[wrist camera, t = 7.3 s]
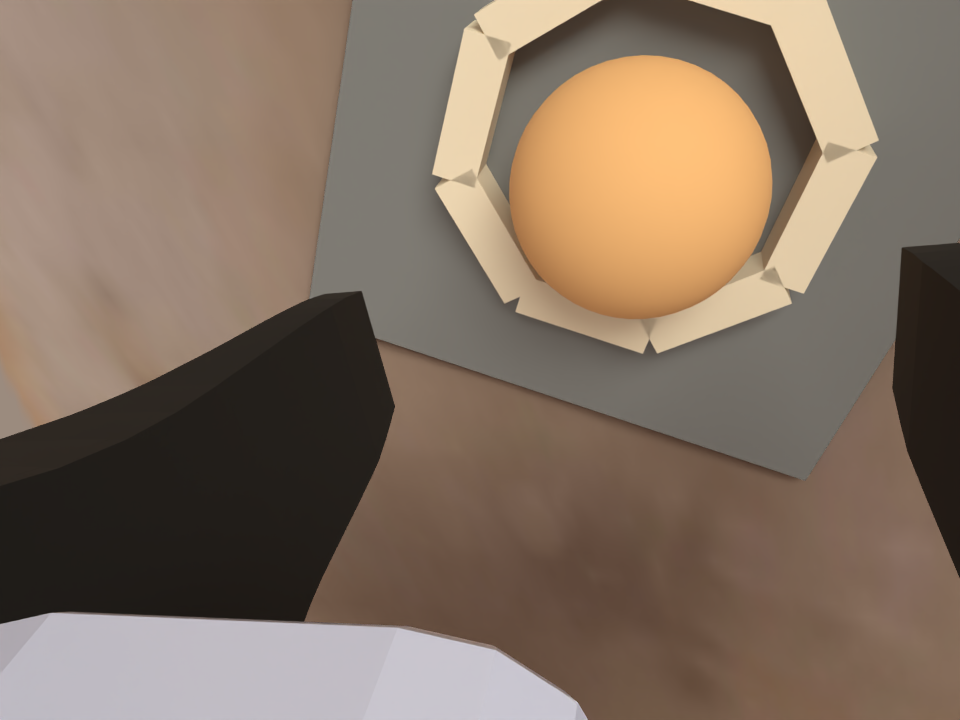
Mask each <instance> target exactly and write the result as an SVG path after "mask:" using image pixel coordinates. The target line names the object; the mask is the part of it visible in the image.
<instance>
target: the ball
mask: <svg viewBox="0 0 960 720" xmlns="http://www.w3.org/2000/svg"><path fill="white" fill-rule="evenodd" d="M771 199H772V170H771V159H770V155H769V151H768V147H767V143H766V140H765V138H764V135H763V133H762V130H761V128H760V126H759V124H758V122H757V120H756V119H755V117H754V115H753V114H752V112H751V110H750V109H749V107H748V106H747V105H746V103H745V102H744V101H743V100H742V98H741V97H740V96H739V95H738V94H737V93H736V92H735V91H734V90H733V89H732V88H731V87H730V86H729V85H727V84H726V83H725V82H724V81H722V80H721V79H719V78H718V77H716V76H715V75H714V74H712V73H710V72H708V71H706V70H704V69H702V68H700V67H698V66H696V65H694V64H691V63H688V62H685V61H682V60H679V59H674V58H669V57H663V56H650V55H640V56H628V57H622V58H618V59H613V60H609V61H605V62H603V63H600V64H597V65H594V66H592V67H590V68H588V69H586V70H584V71H582V72H580V73H578V74H576V75H574V76H573V77H572V78H570V79H569V80H567V81H566V82H565V83H563V84H562V85H560V86H559V87H558V88H557V89H556V90H555V91H554V92H553V93H552V94H551V95H550V96H549V97H548V98H547V99H546V100H545V101H544V102H543V104H542V105H541V106H540V107H539V108H538V110H537V111H536V112H535V113H534V115H533V116H532V118H531V119H530V121H529V123H528V124H527V126H526V127H525V130H524V132H523V134H522V136H521V138H520V141H519V143H518V146H517V149H516V152H515V156H514V159H513V162H512V167H511V174H510V182H509V201H510V210H511V217H512V221H513V225H514V229H515V233H516V235H517V238H518V240H519V243H520V245H521V247H522V249H523V251H524V253H525V255H526V257H527V258H528V260H529V262H530V264H531V265H532V266H533V268H534V269H535V270H536V272H537V273H538V274H539V275H540V276H541V277H542V279H543V280H544V281H545V282H546V283H547V284H548V285H549V286H550V287H552V288H553V289H554V290H555V291H557V292H558V293H559V294H560V295H562V296H563V297H565V298H566V299H568V300H570V301H571V302H573V303H574V304H576V305H578V306H580V307H583V308H585V309H587V310H589V311H592V312H595V313H598V314H601V315H605V316H610V317H615V318H624V319H648V318H656V317H662V316H666V315H670V314H674V313H677V312H679V311H682V310H685V309H687V308H690V307H692V306H694V305H696V304H698V303H700V302H702V301H704V300H706V299H707V298H709V297H710V296H712V295H713V294H715V293H716V292H718V291H719V290H720V289H721V288H722V287H723V286H725V285H726V284H727V283H728V282H729V281H730V280H731V279H732V278H733V277H734V276H735V275H736V274H737V272H738V271H739V270H740V269H741V268H742V267H743V266H744V264H745V263H746V261H747V260H748V259H749V257H750V256H751V254H752V253H753V251H754V249H755V247H756V245H757V243H758V241H759V239H760V238H761V235H762V232H763V229H764V226H765V223H766V221H767V218H768V214H769V209H770V204H771Z"/></svg>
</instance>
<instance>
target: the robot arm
mask: <svg viewBox="0 0 960 720" xmlns="http://www.w3.org/2000/svg"><path fill="white" fill-rule="evenodd" d="M893 392H894V397H895V401H896V406H897V410H898V415H899V419H900V423H901V427H902V431H903V435H904V439H905V443H906V447H907V451H908V454H909V456H910V459H911V461H912V464H913V467H914V469H915V471H916V474H917V476H918V479H919V481H920V484H921V486H922V489H923V491H924V494H925V496H926V498H927V501H928V503H929V506H930V508H931V510H932V513H933V515H934V518H935V520H936V522H937V525H938V527H939V530H940V532H941V534H942V537H943V539H944V542H945V544H946V546H947V549H948V551H949V554H950V556H951V558H952V561H953V563H954V566H955V568H956V570H957V573H958V575H959V577H960V243H949V244H937V245H924V246H912V247H902V250H901V266H900V281H899V296H898V311H897V327H896V342H895V357H894V373H893ZM394 408H395V405H394V402H393V398H392V395H391V391H390V388H389V384H388V381H387V377H386V374H385V370H384V367H383V363H382V360H381V356H380V353H379V349H378V346H377V342H376V339H375V335H374V332H373V328H372V325H371V321H370V318H369V314H368V311H367V307H366V304H365V300H364V297H363V293H362V291H354V292H341V293H329V294H322V295H319V296H316V297H313V298H311V299H308V300H306V301H304V302H301V303H299V304H297V305H295V306H293V307H291V308H289V309H287V310H285V311H283V312H281V313H279V314H277V315H275V316H273V317H272V318H270V319H268V320H266V321H264V322H262V323H260V324H259V325H257V326H255V327H253V328H251V329H249V330H248V331H246V332H244V333H242V334H240V335H238V336H237V337H235V338H233V339H231V340H229V341H227V342H226V343H224V344H222V345H220V346H218V347H216V348H215V349H213V350H211V351H209V352H207V353H205V354H203V355H201V356H199V357H197V358H195V359H193V360H191V361H189V362H187V363H185V364H183V365H182V366H180V367H178V368H176V369H174V370H172V371H170V372H168V373H166V374H164V375H162V376H160V377H158V378H156V379H154V380H152V381H150V382H148V383H146V384H143V385H141V386H139V387H137V388H135V389H132V390H130V391H128V392H126V393H124V394H121V395H119V396H117V397H114V398H112V399H109V400H107V401H105V402H102V403H100V404H97V405H95V406H92V407H90V408H88V409H85V410H83V411H80V412H77V413H75V414H72V415H70V416H67V417H64V418H61V419H58V420H55V421H52V422H49V423H46V424H43V425H40V426H38V427H35V428H32V429H29V430H26V431H23V432H20V433H17V434H14V435H11V436H9V437H6V438H3V439H0V720H588V719H587V717H586V716H585V714H584V712H583V711H582V709H581V707H580V706H579V704H578V702H577V701H575V700H574V699H573V698H572V697H571V696H570V695H569V694H567V693H566V692H565V691H564V690H562V689H561V688H559V687H558V686H556V685H554V684H553V683H551V682H550V681H548V680H547V679H545V678H543V677H542V676H540V675H539V674H537V673H536V672H534V671H533V670H531V669H529V668H528V667H526V666H525V665H523V664H522V663H520V662H519V661H517V660H515V659H514V658H512V657H511V656H509V655H508V654H506V653H505V652H503V651H501V650H500V649H498V648H497V647H495V646H493V645H489V644H485V643H480V642H476V641H471V640H467V639H463V638H458V637H454V636H449V635H445V634H441V633H436V632H432V631H427V630H423V629H419V628H414V627H410V626H395V625H372V624H348V623H324V622H304V620H305V618H306V615H307V612H308V609H309V607H310V604H311V602H312V599H313V597H314V595H315V593H316V590H317V588H318V586H319V583H320V581H321V579H322V577H323V575H324V573H325V571H326V569H327V567H328V564H329V562H330V560H331V558H332V556H333V554H334V552H335V550H336V548H337V546H338V544H339V542H340V540H341V538H342V536H343V534H344V532H345V530H346V528H347V526H348V524H349V522H350V520H351V518H352V516H353V514H354V512H355V510H356V508H357V506H358V504H359V502H360V500H361V498H362V495H363V493H364V491H365V489H366V487H367V485H368V483H369V481H370V479H371V477H372V475H373V472H374V470H375V468H376V466H377V464H378V461H379V459H380V455H381V452H382V449H383V446H384V443H385V440H386V437H387V433H388V430H389V426H390V423H391V419H392V415H393V412H394Z"/></svg>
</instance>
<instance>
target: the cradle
mask: <svg viewBox="0 0 960 720" xmlns="http://www.w3.org/2000/svg"><path fill="white" fill-rule="evenodd" d="M640 55H650V56H663V57H669V58H674V59H679V60H682V61H685V62H688V63H691V64H694V65H696V66H698V67H700V68H702V69H704V70H706V71H708V72H710V73H712V74H714V75H715V76H716V77H718V78H719V79H721V80H722V81H724V82H725V83H726V84H727V85H729V86H730V87H731V88H732V89H733V90H734V91H735V92H736V93H737V94H738V95H739V96H740V97H741V98H742V100H743V101H744V102H745V103H746V105H747V106H748V107H749V109H750V110H751V112H752V114H753V115H754V117H755V119H756V120H757V122H758V124H759V126H760V128H761V130H762V133H763V135H764V138H765V140H766V143H767V147H768V151H769V155H770V159H771V170H772V199H771V204H770V209H769V214H768V218H767V221H766V223H765V226H764V229H763V232H762V235H761V238H760V239H759V241H758V243H757V245H756V247H755V249H754V251H753V253H752V254H751V256H750V257H749V259H748V260H747V261H746V263H745V264H744V266H743V267H742V268H741V269H740V270H739V271H738V272H737V274H736V275H735V276H734V277H733V278H732V279H731V280H730V281H729V282H728V283H727V284H726V285H725V286H723V287H722V288H721V289H720V290H719V291H718V292H716V293H715V294H713V295H712V296H710V297H709V298H707V299H706V300H704V301H702V302H700V303H698V304H696V305H694V306H692V307H690V308H687V309H685V310H682V311H679V312H677V313H674V314H670V315H666V316H662V317H656V318H648V319H624V318H615V317H610V316H605V315H601V314H598V313H595V312H592V311H589V310H587V309H585V308H583V307H580V306H578V305H576V304H574V303H573V302H571V301H570V300H568V299H566V298H565V297H563V296H562V295H560V294H559V293H558V292H557V291H555V290H554V289H553V288H552V287H550V286H549V285H548V284H547V283H546V282H545V281H544V280H543V279H542V277H541V276H540V275H539V274H538V273H537V272H536V270H535V269H534V268H533V266H532V265H531V264H530V262H529V260H528V258H527V257H526V255H525V253H524V251H523V249H522V247H521V245H520V243H519V240H518V238H517V235H516V233H515V229H514V225H513V221H512V217H511V210H510V201H509V182H510V174H511V167H512V162H513V159H514V156H515V152H516V149H517V146H518V143H519V141H520V138H521V136H522V134H523V132H524V130H525V127H526V126H527V124H528V123H529V121H530V119H531V118H532V116H533V115H534V113H535V112H536V111H537V110H538V108H539V107H540V106H541V105H542V104H543V102H544V101H545V100H546V99H547V98H548V97H549V96H550V95H551V94H552V93H553V92H554V91H555V90H556V89H557V88H558V87H559V86H560V85H562V84H563V83H565V82H566V81H567V80H569V79H570V78H572V77H573V76H574V75H576V74H578V73H580V72H582V71H584V70H586V69H588V68H590V67H592V66H594V65H597V64H600V63H603V62H605V61H609V60H613V59H618V58H622V57H628V56H640ZM959 239H960V0H353V2H352V9H351V16H350V23H349V30H348V36H347V43H346V50H345V57H344V64H343V71H342V78H341V85H340V91H339V98H338V105H337V112H336V119H335V126H334V133H333V140H332V147H331V153H330V160H329V167H328V174H327V181H326V188H325V195H324V202H323V209H322V215H321V222H320V229H319V236H318V243H317V250H316V257H315V264H314V270H313V277H312V284H311V291H310V298H309V299H311V298H313V297H316V296H319V295H322V294H329V293H341V292H354V291H362V293H363V297H364V300H365V304H366V307H367V311H368V314H369V318H370V321H371V325H372V328H373V332H374V335H375V338H377V339H380V340H383V341H386V342H389V343H392V344H395V345H398V346H401V347H404V348H407V349H410V350H413V351H416V352H419V353H422V354H425V355H428V356H431V357H434V358H437V359H440V360H443V361H446V362H449V363H452V364H455V365H458V366H461V367H464V368H467V369H470V370H473V371H476V372H479V373H482V374H485V375H488V376H491V377H494V378H497V379H500V380H503V381H506V382H510V383H513V384H516V385H519V386H522V387H525V388H528V389H531V390H534V391H537V392H540V393H543V394H546V395H549V396H552V397H555V398H558V399H561V400H564V401H567V402H570V403H573V404H576V405H579V406H582V407H585V408H588V409H591V410H594V411H597V412H600V413H603V414H606V415H609V416H612V417H615V418H618V419H621V420H624V421H627V422H630V423H633V424H636V425H639V426H642V427H645V428H648V429H651V430H654V431H657V432H660V433H663V434H666V435H669V436H672V437H675V438H678V439H681V440H684V441H687V442H690V443H693V444H696V445H699V446H702V447H705V448H708V449H711V450H714V451H717V452H720V453H723V454H726V455H729V456H732V457H735V458H738V459H741V460H744V461H747V462H750V463H753V464H756V465H759V466H762V467H765V468H768V469H771V470H774V471H777V472H780V473H783V474H786V475H789V476H792V477H795V478H799V479H802V480H805V481H806V479H807V478H808V476H809V475H810V473H811V471H812V470H813V468H814V467H815V465H816V464H817V462H818V460H819V459H820V457H821V456H822V454H823V453H824V451H825V449H826V448H827V446H828V445H829V443H830V442H831V440H832V438H833V437H834V435H835V434H836V432H837V431H838V429H839V427H840V426H841V424H842V423H843V421H844V420H845V418H846V416H847V415H848V413H849V412H850V410H851V409H852V407H853V405H854V404H855V402H856V401H857V399H858V398H859V396H860V394H861V393H862V391H863V390H864V388H865V387H866V385H867V383H868V382H869V380H870V379H871V377H872V376H873V374H874V372H875V371H876V369H877V368H878V366H879V364H880V363H881V361H882V360H883V358H884V357H885V355H886V353H887V352H888V350H889V349H890V347H891V346H892V344H893V342H894V341H895V339H896V327H897V311H898V296H899V281H900V266H901V250H902V247H912V246H924V245H937V244H949V243H957V242H958V240H959Z"/></svg>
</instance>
